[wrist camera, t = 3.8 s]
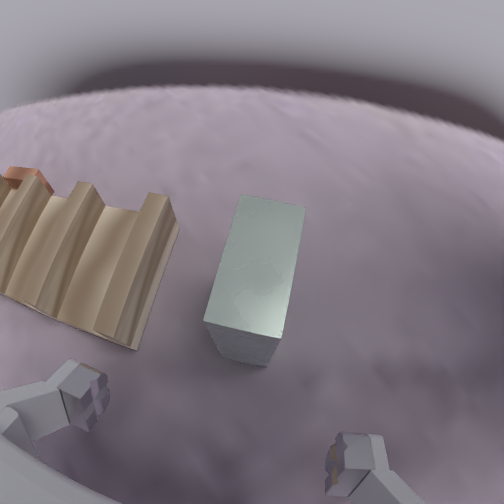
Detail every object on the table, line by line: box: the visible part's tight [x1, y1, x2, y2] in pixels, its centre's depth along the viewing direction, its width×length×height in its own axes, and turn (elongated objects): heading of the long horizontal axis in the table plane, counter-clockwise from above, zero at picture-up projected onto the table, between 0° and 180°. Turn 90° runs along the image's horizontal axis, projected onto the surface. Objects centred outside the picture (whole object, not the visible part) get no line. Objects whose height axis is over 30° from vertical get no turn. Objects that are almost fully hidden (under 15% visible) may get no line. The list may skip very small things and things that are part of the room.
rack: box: [0, 166, 180, 351], centre depth 22 cm, size 21×11×4 cm, turn 77°
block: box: [203, 194, 306, 367], centre depth 18 cm, size 3×6×10 cm, turn 167°
